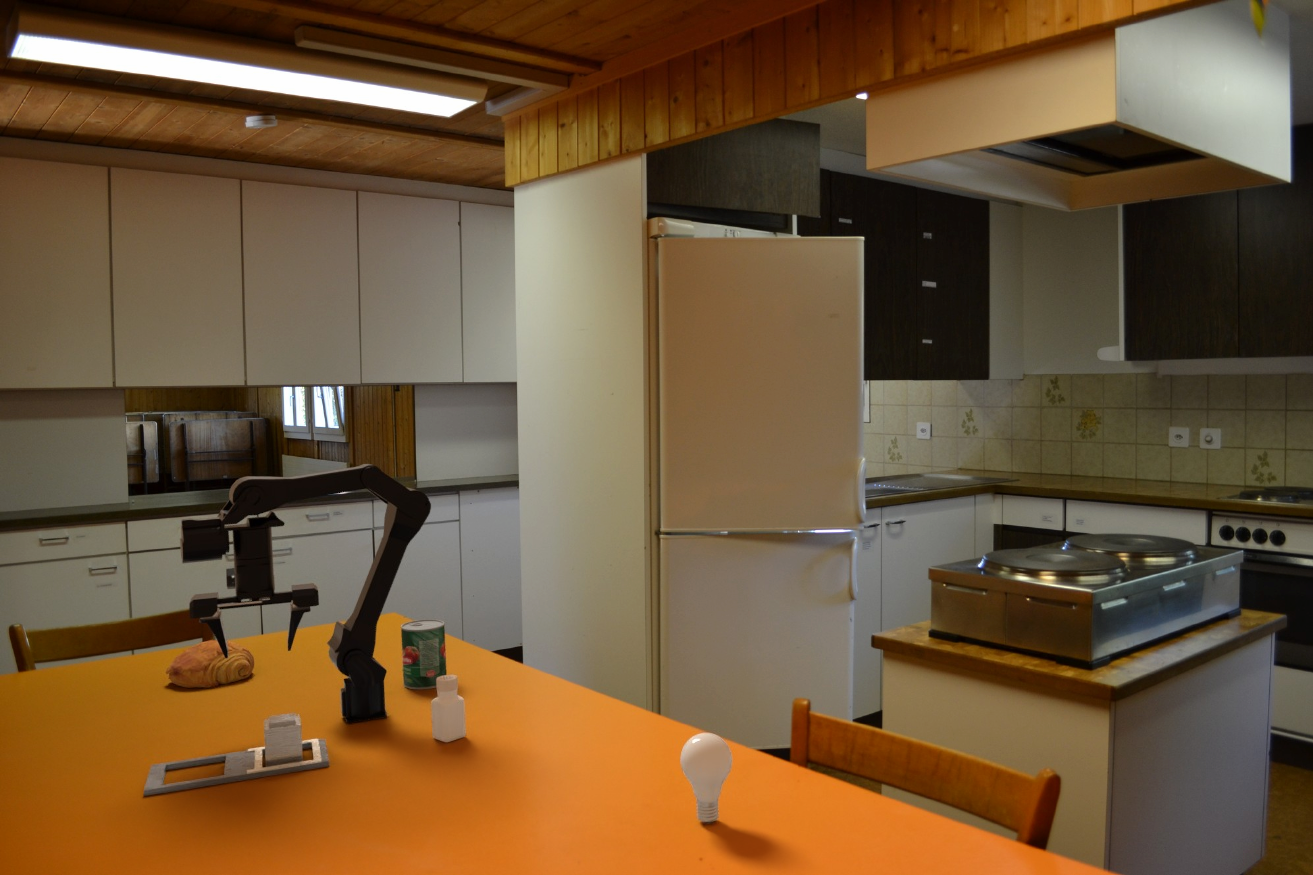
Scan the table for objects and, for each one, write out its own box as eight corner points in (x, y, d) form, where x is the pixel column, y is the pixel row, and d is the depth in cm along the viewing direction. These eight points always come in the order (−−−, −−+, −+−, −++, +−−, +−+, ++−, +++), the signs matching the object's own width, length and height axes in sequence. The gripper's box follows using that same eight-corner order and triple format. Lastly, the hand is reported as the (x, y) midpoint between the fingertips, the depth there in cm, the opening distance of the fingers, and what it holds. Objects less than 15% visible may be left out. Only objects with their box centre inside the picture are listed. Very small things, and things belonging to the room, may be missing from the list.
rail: (325, 743, 152) (324, 737, 152) (329, 766, 143) (328, 759, 143) (151, 770, 143) (151, 763, 143) (143, 796, 134) (143, 788, 134)
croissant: (225, 674, 200) (221, 634, 200) (268, 675, 191) (264, 634, 191) (154, 691, 188) (150, 649, 189) (195, 693, 179) (191, 649, 179)
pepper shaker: (467, 737, 153) (465, 676, 153) (446, 744, 150) (443, 683, 150) (452, 731, 156) (449, 672, 156) (430, 738, 153) (428, 678, 153)
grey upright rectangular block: (301, 753, 149) (299, 710, 148) (302, 764, 144) (300, 720, 144) (266, 758, 147) (263, 715, 146) (266, 770, 142) (263, 725, 142)
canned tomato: (456, 680, 184) (453, 621, 183) (425, 691, 177) (422, 631, 176) (425, 674, 188) (423, 617, 187) (394, 685, 181) (391, 626, 181)
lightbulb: (679, 812, 124) (677, 726, 124) (729, 809, 125) (727, 723, 124) (685, 835, 118) (682, 745, 117) (737, 831, 118) (735, 741, 118)
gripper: (313, 544, 167) (317, 635, 167) (191, 554, 160) (196, 649, 161) (316, 554, 156) (321, 651, 157) (186, 565, 149) (192, 666, 150)
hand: (258, 653), depth 157 cm, fingers open, 9 cm apart
